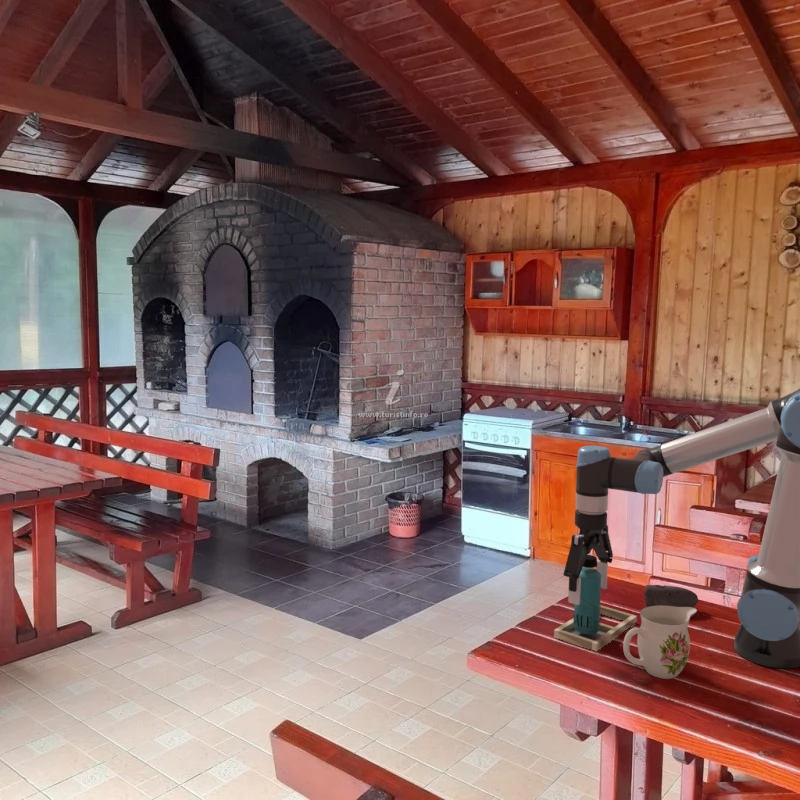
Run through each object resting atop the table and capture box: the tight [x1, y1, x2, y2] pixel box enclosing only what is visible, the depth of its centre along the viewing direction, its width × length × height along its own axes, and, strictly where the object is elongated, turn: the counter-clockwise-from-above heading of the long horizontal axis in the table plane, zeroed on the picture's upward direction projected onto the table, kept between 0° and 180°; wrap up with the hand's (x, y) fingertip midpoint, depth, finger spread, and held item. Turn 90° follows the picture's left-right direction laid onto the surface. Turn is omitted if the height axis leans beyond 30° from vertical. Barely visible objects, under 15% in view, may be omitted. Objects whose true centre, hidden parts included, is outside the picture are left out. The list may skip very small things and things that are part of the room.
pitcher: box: [622, 606, 698, 680], centre depth 166 cm, size 11×18×14 cm, turn 106°
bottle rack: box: [553, 604, 638, 651], centre depth 188 cm, size 22×11×2 cm, turn 138°
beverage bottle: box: [572, 554, 602, 634], centre depth 182 cm, size 6×7×20 cm
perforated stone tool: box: [643, 584, 699, 608], centre depth 200 cm, size 15×5×7 cm, turn 89°
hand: (587, 595), depth 183 cm, fingers open, 13 cm apart
